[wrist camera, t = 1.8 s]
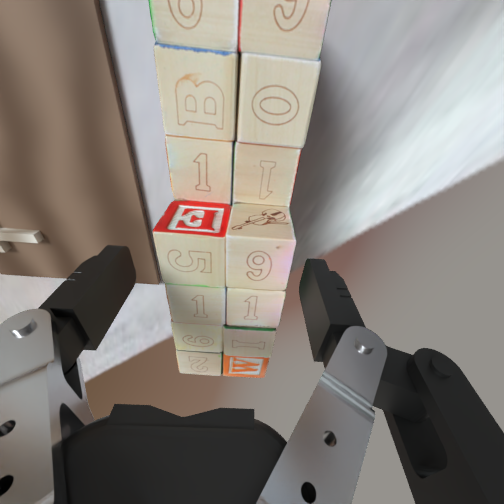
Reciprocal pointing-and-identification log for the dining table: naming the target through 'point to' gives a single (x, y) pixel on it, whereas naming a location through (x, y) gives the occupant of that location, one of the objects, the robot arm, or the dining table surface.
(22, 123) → the board
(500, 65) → the dining table surface
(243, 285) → the stack of blocks
